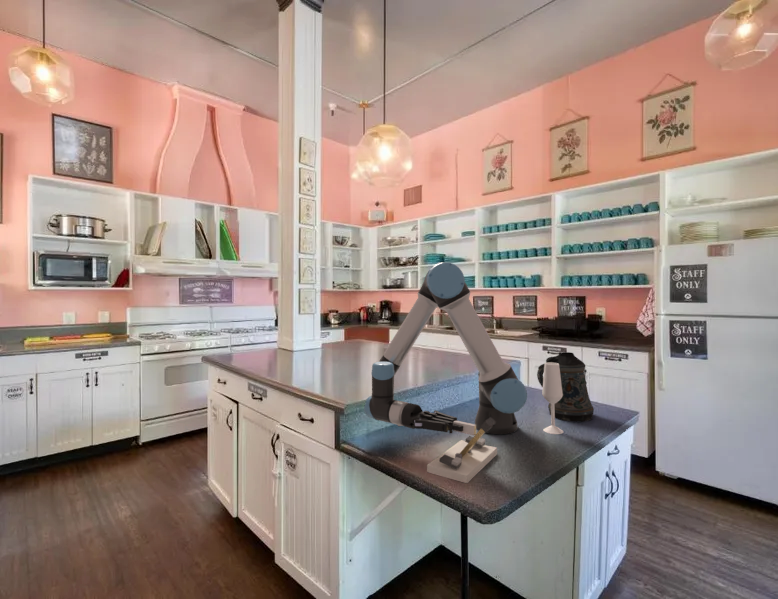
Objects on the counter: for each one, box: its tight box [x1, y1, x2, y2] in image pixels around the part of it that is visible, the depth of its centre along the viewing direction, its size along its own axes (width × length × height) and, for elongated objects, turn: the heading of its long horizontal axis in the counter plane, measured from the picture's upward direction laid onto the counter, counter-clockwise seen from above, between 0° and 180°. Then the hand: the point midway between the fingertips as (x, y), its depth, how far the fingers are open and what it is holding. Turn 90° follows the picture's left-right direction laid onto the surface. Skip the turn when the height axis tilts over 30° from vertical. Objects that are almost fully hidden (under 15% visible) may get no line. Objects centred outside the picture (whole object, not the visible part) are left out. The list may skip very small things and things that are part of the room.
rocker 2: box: [464, 435, 486, 448], centre depth 120 cm, size 3×5×2 cm, turn 54°
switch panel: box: [426, 439, 498, 484], centre depth 113 cm, size 22×12×4 cm, turn 144°
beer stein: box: [536, 351, 595, 423], centre depth 154 cm, size 16×19×25 cm
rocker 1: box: [439, 455, 462, 469], centre depth 106 cm, size 3×5×2 cm, turn 54°
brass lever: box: [460, 417, 496, 457], centre depth 111 cm, size 4×2×14 cm
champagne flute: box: [541, 362, 564, 435], centre depth 137 cm, size 7×7×24 cm
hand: (475, 430), depth 110 cm, fingers closed
